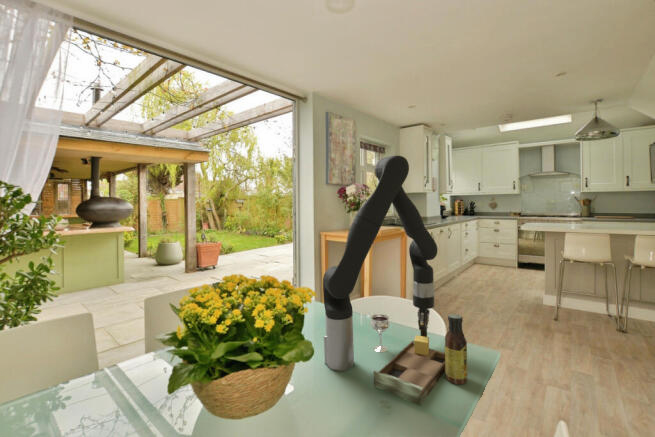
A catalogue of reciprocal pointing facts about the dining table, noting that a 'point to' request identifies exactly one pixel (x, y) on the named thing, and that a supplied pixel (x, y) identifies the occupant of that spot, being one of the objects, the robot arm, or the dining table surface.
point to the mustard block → (421, 345)
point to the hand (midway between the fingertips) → (423, 338)
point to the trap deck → (411, 374)
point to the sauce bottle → (455, 351)
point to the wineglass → (380, 328)
